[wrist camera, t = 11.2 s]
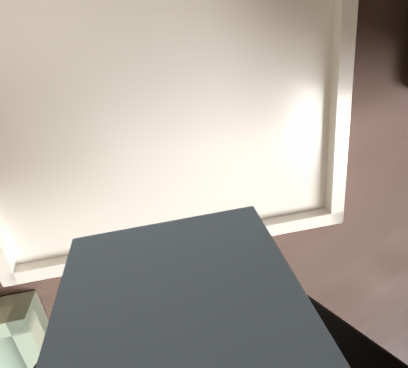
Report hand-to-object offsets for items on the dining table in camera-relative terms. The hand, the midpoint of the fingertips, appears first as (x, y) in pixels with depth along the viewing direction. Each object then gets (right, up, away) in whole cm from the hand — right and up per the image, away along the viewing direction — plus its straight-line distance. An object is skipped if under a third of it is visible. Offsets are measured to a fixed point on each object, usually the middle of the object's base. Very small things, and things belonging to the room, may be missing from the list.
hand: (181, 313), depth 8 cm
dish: (-1, +6, +6) cm, 9 cm away
